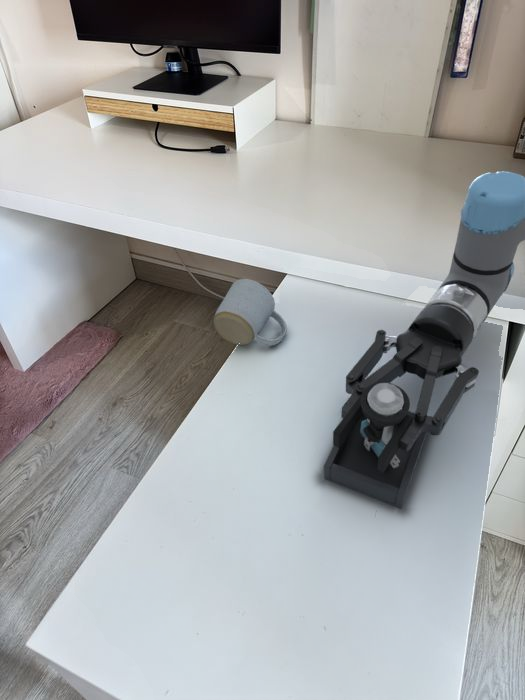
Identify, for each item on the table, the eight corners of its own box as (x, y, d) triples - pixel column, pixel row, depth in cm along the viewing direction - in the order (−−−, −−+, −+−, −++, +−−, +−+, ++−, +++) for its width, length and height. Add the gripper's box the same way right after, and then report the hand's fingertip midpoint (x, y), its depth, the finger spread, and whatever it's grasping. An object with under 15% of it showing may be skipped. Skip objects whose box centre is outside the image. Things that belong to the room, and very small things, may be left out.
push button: (413, 460, 61) (429, 413, 53) (376, 479, 59) (387, 433, 52) (381, 419, 65) (392, 370, 57) (346, 435, 63) (352, 387, 56)
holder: (427, 431, 65) (431, 418, 63) (401, 509, 58) (404, 496, 56) (356, 408, 69) (357, 394, 66) (324, 478, 62) (323, 466, 60)
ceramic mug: (214, 342, 80) (206, 306, 74) (235, 309, 85) (229, 273, 79) (275, 358, 77) (272, 322, 71) (294, 322, 82) (292, 286, 76)
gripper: (387, 281, 68) (289, 395, 57) (524, 330, 60) (442, 476, 48) (383, 321, 74) (292, 433, 62) (508, 371, 65) (430, 511, 54)
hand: (358, 451), depth 55 cm, fingers closed on push button, 5 cm apart
